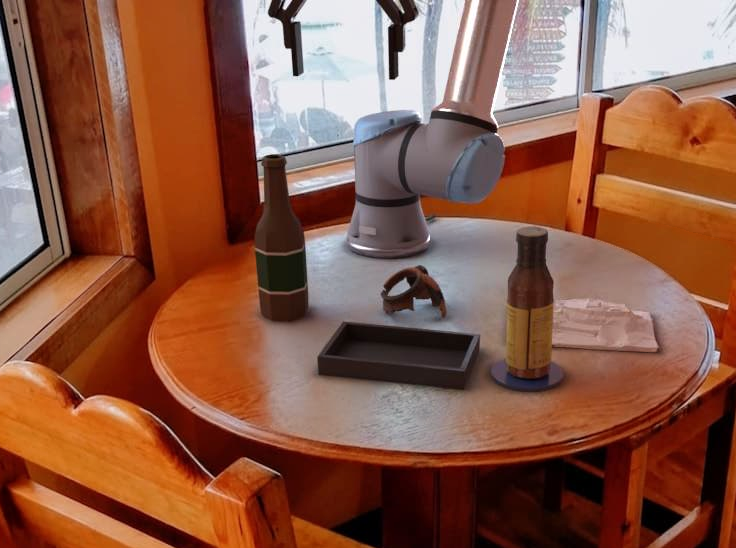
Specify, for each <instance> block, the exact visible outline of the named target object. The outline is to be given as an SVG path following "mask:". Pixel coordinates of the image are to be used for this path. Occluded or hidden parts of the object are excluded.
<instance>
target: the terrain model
mask: <svg viewBox="0 0 736 548" xmlns="http://www.w3.org/2000/svg"><path fill="white" fill-rule="evenodd" d="M653 320H654V319H653V318H652V317H651V313H650V312H649V311H643V310H632V309H631V308H629V307H627V305H626V304H625V303H613V302H612V301H606V300H602V299H601V298H598V299H595V298H590V297H589V298H586V297H585V298H572V299H568V300H566V299H555V302H554V306H553V329H552V348H570V349H571V348H572V349H586V350H587V349H588V350H604V351H605V350H607V351H621V352H642V353H647V352H648V353H657V351H658V349H659V348H661V347H660V346H659V344H658V342H657V340H656V336H655V331H654V328H655V327H654V323H653Z"/></svg>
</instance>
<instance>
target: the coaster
mask: <svg viewBox="0 0 736 548" xmlns="http://www.w3.org/2000/svg"><path fill="white" fill-rule="evenodd" d="M490 377H491V379H492V380H493V381H494V383H496V384H497V385H499V386H501V387H503V388H505V389H508V390H512V391H517V392H525V393H526V392H528V393H534V392H542V391H543V392H544V391H548V390H551V389H553V388H556V387H557V386H558V385H560V384H561V383H562V382H563V379H564V371H563V369H562V368H561V366H559V365H558V364H556V363H555V362H553V361H551V362H550V370H549V372H548V374H547V375H545V376H543V377H541V378H537V379H524V378H519V377H514V376H513V375H511V374H510V373H509V372H508V369H507V362H506V358H503V359H500V360H498V361H497V362H495V363H494V364H493V365H492V366H491V369H490Z"/></svg>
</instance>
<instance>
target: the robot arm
mask: <svg viewBox="0 0 736 548" xmlns="http://www.w3.org/2000/svg"><path fill="white" fill-rule="evenodd" d="M286 1H287V0H270V3H269V7H268V10H267V15H268V17H269V18H271V19H276V20H278V21H280V23H281V25H282V36H283V46H284V48H285V49H286V50H290V53H291V67H292V69H291V70H292V77H299V76H301V75H302V74H304V73H305V72H304V71H305V69H304V55H303V53H304V52H303V39H302V24H301V23H302V22H301V21H297V20H296V17H297V16H298V14H299V13H300V11H301V10H302V8H303V7H304V5H305V4H306V3H307V1H308V0H290V2H289V4H288V5H287V7H286V8H284V7H285V4H286ZM375 1H376V2H377V5H379V6H380V8H381V9H382V10H383V12H384V13H385V15H386V16H387V17H388V18H389V20H390V21H391V23H392V24H390V25H389V26H387V43H388V44H387V50H388V51H387V52H388V55H387V56H388V80H389V81H390V80H391V81H395V80H396V79H397V78H398V77H400V76H399V73H400V72H399V53H403V52H404V51H405V49H406V26H407V24H409V23H411V22H414V21H415V20H416V19H418V17H419V16H420V12H419V9H418V7H417V4H416V3H415V1H414V0H398V3H399V4H400V6H401V8H400V7H399V6H398V5H397V3H396V2H395V1H394V0H375ZM518 4H519V0H464V3H463V7H462V12H461V15H460V21H459V26H458V30H457V35H456V39H455V42H454V43H455V44H454V48H453V53H452V57H451V62H450V67H449V71H448V75H447V81H446V84H445V90H444V94H443V99H442V102H441V103H439V104H438V105H437V106H435V107H434V108H432V109H431V111H430V116H429V121H428V123H422V122H421V121H422V117H421V113H420V112H419V111H418V110H415V109H413V110H412V109H397V110H388V111H380V112H375V113H370V114H367V115H363V116H361V117H360V118H359V119H357V120H356V122H355V123H354V125H353V126H354V127H353V142H352V147H353V160H354V188H355V189H354V191H355V205H354V209H353V212H352V215H351V219H350V222H349V227H348V230H347V234H346V245H347V248H348V249H349V250H351V251H352V252H354V253H356V254H359V255H361V256H366V257H371V258H382V259H392V258H393V259H396V258H406V257H410V256H415V255H417V254H421V253H422V252H424V251H427V250H428V248H429V247H430V244H431V241H430V239H431V237H430V236H431V235H430V230H429V228H428V224H427V222H429V221H432V220H433V219H435V218H436V217H437V215H436V214H435V213H433V214H431V215H429V216H427V217H425V214H424V211H423V208H422V205H421V196H425V197H429V198H435V199H440V200H446V201H449V202H451V203H455V204H460V203H463V204H471V205H472V204H478V203H480V202H482V201H484V200H485V199H486V198H487V197H488V196H490V195H491V193H492V192H493V190H494V189H495V188H496V186H497V185H498V183H499V181H500V178H501V174H502V172H503V169H504V165H505V161H506V160H505V159H506V156H505V154H504V153H505V151H506V146H505V143H504V140H503V139H502V137H501V136H500V135H499V134H498V130H499V124H498V123H497V121H496V119H495V117H494V114H493V112H494V108H495V103H496V99H497V95H498V91H499V86H500V82H501V77H502V73H503V68H504V65H505V60H506V55H507V51H508V47H509V42H510V39H511V34H512V29H513V25H514V20H515V17H516V13H517V8H518ZM295 20H296V21H295Z"/></svg>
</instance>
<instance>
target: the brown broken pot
mask: <svg viewBox="0 0 736 548" xmlns="http://www.w3.org/2000/svg"><path fill="white" fill-rule="evenodd" d="M405 279H406V283H407V284H408V285H409V288H408V289H406V290H405V291H403V292H401V293H399V294H396V295H389V293H390V292H391V291H392V289H393V288H394V287H395V286H397V285H398V284H399V283H400V282H403V281H404V280H405ZM380 297H381V298H382V310H383V311H384V312H385V314H389V313H391V314H394V313H398V312H403V311H405V310H409V311H411V312H415V307H414V306H415V305H414V299H415V300H425V301H426V300H430V301H431V307H438V310H439V311H440V312H441V313H440V315H441V318H442V319H446V317H447V315H448V309H447V307H446V300H445V296H444V293H443V291H442V289H441V288H440V285H439V283H438V282H437V281H436V280H435V278H433V277H432V276H430V274H429V271H428V269H427V268H426V267H425V266H424V265H421V264H418V265H416V266H414V267H413V266H411V267H405V268H402V269H401V270H399V271H397V272H395V273H394V274H392V275H391V276H390V277H389V278H388V279H387V280H386V281H384V284H383V289H382V291H381V292H380Z"/></svg>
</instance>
